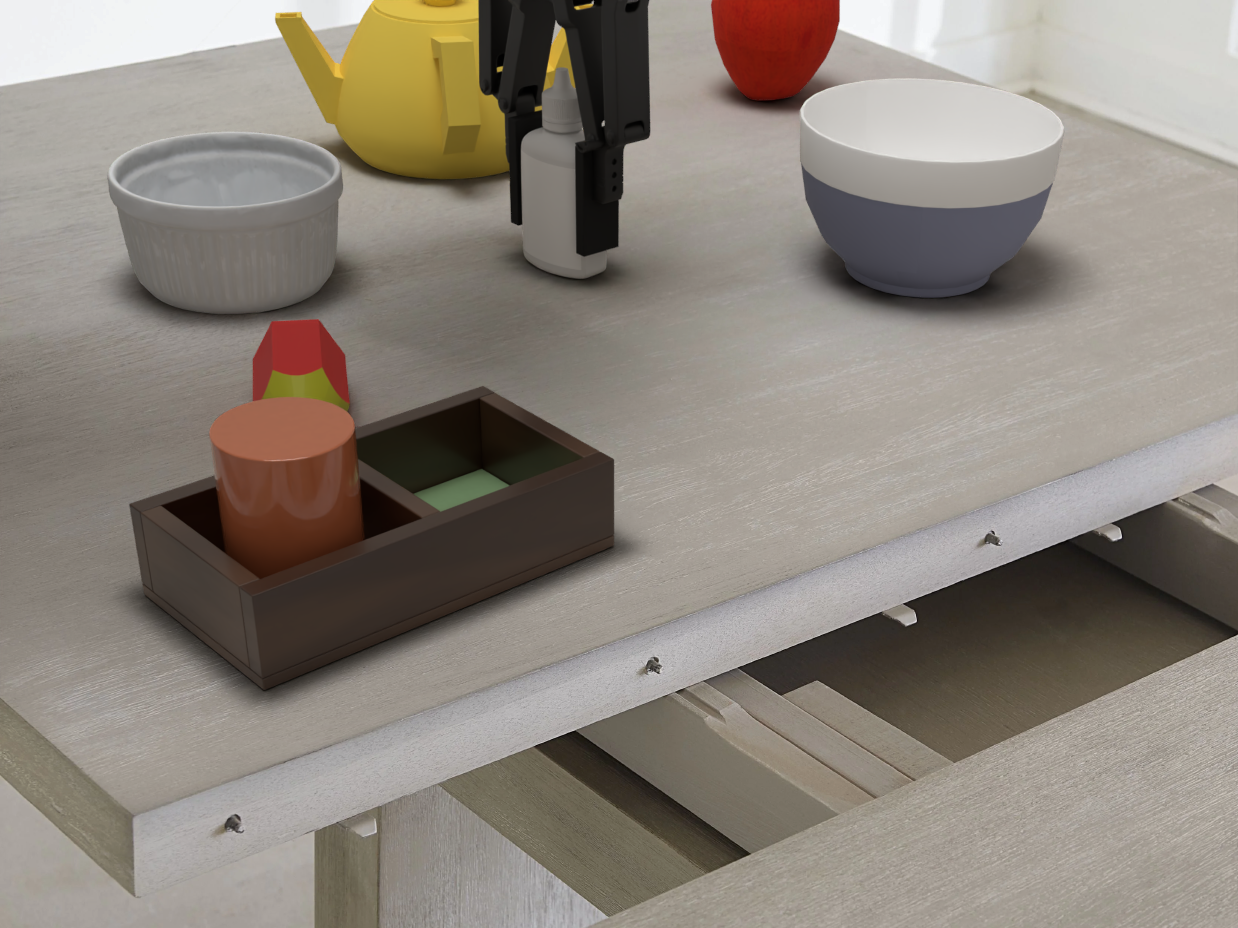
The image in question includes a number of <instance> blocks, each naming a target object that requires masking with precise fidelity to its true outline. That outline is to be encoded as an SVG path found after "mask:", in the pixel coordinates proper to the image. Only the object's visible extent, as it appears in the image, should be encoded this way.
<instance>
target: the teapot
mask: <svg viewBox="0 0 1238 928" xmlns="http://www.w3.org/2000/svg"><path fill="white" fill-rule="evenodd" d="M593 4H594V3H592V4H587V5H582V6H577V7H574V8H575V9H576V10H579V9H584V8H589V7H592V6H593ZM274 21H275V25H276V27H277V29H278V31H279V33H280V35H281V36H282V38H283V40H284V42H285V44H286V47H287V48H288V50H289V52H290V55H291V56H292V58H293V60H294V62H295V64H296V66H297V68H298V71H299V72H300V74H301V75H302V78H303V80H304V82H305V83H306V85H307V87H308V89H309V91H310V93H311V95H312V98H313V99H314V102H315V103H316V105H317V107H318V109H319V111H320V113H321V115H322V117H323V119H324V121H325V123H326V124H329V125H334V127H335V129H336V131H337V133H338V135H339V136H340V137H341V139H342V140H343V141H344V143H345V144H346V145H347V146H348V147H349V148H350V149H351V150H352V151H353V152H354V153H355V154H356V155H357V156H358V157H359V158H360V159H361V160H362V161H363V162H364V163H366V164H367V165H369V166H370V167H373V168H375V169H377V170H380V171H382V172H386V173H389V174H394V175H397V176H402V177H408V178H417V179H429V180H464V179H474V178H484V177H489V176H495V175H499V174H503V173H507V172H509V163H508V161H507V157H506V146H505V145H506V143H505V138H506V137H505V115H504V113H502V111H501V110H500V108H499V106H498V100H497V99H496V98H495V97H494V96H493V95H488V96H487V95H484V94H483V93H482V91H481V89H480V86H479V12H478V0H373V1H371V3H370V5H369V6H368V7H367V9H366V10H365V12H364V13H363V15H362V17H361V18H360V21H359V23H358V25H357V27H356V28H355V30H354V33H353V34H352V36H351V38H350V41H348V44H347V46H346V48H345V51H344V53H343V56H342V58H341V60H340V63H339V62H335V60H334V59H333V58H332V57H331V55H330V53H329V52H328V51H327V49H326V48H325V47H324V45H323V44H322V42H321V41H320V39H319V38H318V37H317V35H316V34H315V32H314V31H313V30H312V28H311V26H309V24H308V23H307V21H306V20H305V18H304V17H303V13H302V11H288V12H275V16H274ZM560 27H561V26H560ZM560 67H564V68H568V71H569V76H570V81H571V85H572V86H573V87H574V88H575V82H574V77H573V72H572V66H571V61H570V55H569V50H568V44H567V39H566V33H565V30H564V28H563V27H561V28H560V29H559V31H558V33H557V35H556V36H555V38H554V39H553V40H552V45H551V50H550V56H549V61H548V67H547V73H546V78H545V84H544V90H546V89H548V88H550V87H552V86H553V84H554V79H555V73H556V68H560ZM502 69H503V66H502V67H498V68H497V72H500V71H502ZM544 90H543V91H544ZM539 110H542V106H538V107H535V111H539Z"/></svg>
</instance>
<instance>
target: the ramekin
mask: <svg viewBox="0 0 1238 928" xmlns="http://www.w3.org/2000/svg"><path fill="white" fill-rule="evenodd" d="M107 186H108V193H109V197H110V200H111V201H112V203H113V205H114V206H115V207H116V211H117V215H118V219H119V224H120V227H121V231H122V235H123V239H124V243H125V247H126V250H127V254H128V256H129V260H130V263H131V265H132V269H133V271H134V273H135V276H136V278H137V279H138V281H139V283H140V284H141V285H142V286H143V287H144V288H145V289H146V290H147V291H148V292H149V293H150V294H151V295H152V296H153V297H155V298H156V299H158V300H159V301H160V302H163V303H164V304H167V305H169V306H172V307H175V308H178V309H181V310H185V311H191V312H195V313H204V314H212V315H213V314H215V315H242V314H254V313H255V314H256V313H264V312H269V311H274V310H278V309H283V308H285V307H289V306H292V305H295V304H298V303H301V302H302V301H305V300H307V299H310V297H312V296H314V295H315V294H317V293H318V292H319V291H320V290H321V289H322V288H323V286H324V285H325V283H326V282H327V281H328V279H329V278H330V277H331V275H332V274H333V271H334V268H335V264H336V260H337V259H336V258H337V248H338V235H339V200H340V198H341V197H342V195H343V190H344V180H343V170H342V165H341V163H340V160H339V159H338V158H337V157H336V155H334V154H333V153H332V152H331V151H329V150H327V149H326V148H324V147H322V146H320V145H318V144H315V143H313V142H309V141H306V140H304V139H300V138H297V137H291V136H286V135H281V134H276V133H275V134H274V133H266V132H256V131H255V132H253V131H211V132H209V131H207V132H199V133H198V132H197V133H189V134H181V135H177V136H171V137H165V138H162V139H157V140H153V141H150V142H146V143H144V144H141V145H137V146H135V147H133V148H131V149H129V150H127V151H125V152H123V153H122V154H120V155H119V156H117V158H115V159H114V160H113V161H112V162H111V164H110V165H109V168H108V170H107Z"/></svg>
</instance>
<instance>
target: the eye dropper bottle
mask: <svg viewBox="0 0 1238 928" xmlns="http://www.w3.org/2000/svg"><path fill="white" fill-rule="evenodd" d="M542 126H543V127H542V128H538V129H535V130H533V131H531V132H529V133H528V134H527V135H525V137H524V138H523V140H522V144H521V187H522V225H521V226H522V229H521V230H522V252H523V256H524V258H525V260H526V261H528V262H529V263H530V264H531V265H533V266H534V267H536V268H538V269H540V270H541V271H544V272H546V273H549V274H553V275H557V276H560V277H564V278H569V279H574V280H575V279H577V280H584V279H588V278H590V277H593V276H596V275H598V274H601V273H603V272H604V271H606V268H607V266H608V265H607V262H608V260H607V259H608V256H607V255H608V250H606V251H603V252H599V253H596V254H592V255H589V256H585V257H583V256H581V255H579V254H577V253H576V187H575V146H576V144H575V143H576V142H580V141H584V140H585V137H584V132H583V126H582V121H581V115H580V110H579V104H578V99H577V93H576V88H574V87H573V86H572V85H571V81H570V76H569V71H568V68H564V67H560V68H556V73H555V79H554V84H553V86H552V87H550V88H548V89H546V90H544V91H543V92H542Z"/></svg>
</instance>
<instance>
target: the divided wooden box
mask: <svg viewBox="0 0 1238 928" xmlns="http://www.w3.org/2000/svg"><path fill="white" fill-rule="evenodd" d="M355 430H356V441H357V453H358V464H359V476H360V488H361V499H362V511H363V522H364V534H365V540H363V541H361V542H358V543H355V544H353V545H350V546H347V547H345V548H342V549H339V550H337V551H334V552H331V553H329V554H326V555H323V556H321V557H318V558H315V559H313V560H310V561H307V562H305V563H302V564H299V565H297V566H294V567H291V568H289V569H286V570H283V571H281V572H278V573H275V574H273V575H270V576H267V577H265V578H262V579H259V578H258V577H257V576H255V575H254V574H253V573H251V572H250V571H249V570H247V569H246V568H245V567H243V566H242V565H241V564H239V563H238V562H236V561H235V560H234V559H232V558H231V557H230V556H228V555H227V554H226V553H225V549H224V542H223V535H222V527H221V520H220V512H219V505H218V498H217V490H216V483H215V475H214V474H213V475H210V476H208V477H205V478H202V479H198V480H196V481H193V482H190V483H187V484H184V485H181V486H178V487H175V488H172V489H169V490H166V491H163V492H160V493H157V494H154V495H151V496H148V497H145V498H142V499H139V500H136V501H133V502H129V504H128V507H129V512H130V519H131V525H132V530H133V536H134V542H135V548H136V549H135V550H136V554H137V560H138V566H139V572H140V578H141V583H142V590H143V595H144V596H146V597H147V598H149V599H150V600H151V601H152V602H153V603H155V604H156V606H158V607H159V608H160V609H162V610H163V611H164V612H166V613H167V614H168V615H170V616H171V617H172V618H173V619H174V620H176V621H177V622H178V623H180V624H181V625H182V626H183V627H184V628H186V629H187V630H188V631H189V632H191V633H192V634H193V635H195V636H196V637H197V638H198V639H199V640H200V641H202V642H203V643H205V644H206V645H207V646H208V647H210V648H211V649H212V650H214V652H216V653H217V654H218V655H220V656H221V657H222V658H223V659H224V660H226V662H228V663H230V664H231V665H232V666H233V667H234V668H236V669H237V670H238V671H239V672H241V673H242V674H243V675H245V676H246V677H247V678H248V679H250V681H252V682H253V683H254V684H256V685H257V686H258V687H259V688H261V689H262V690H263V691H266V690H269V689H271V688H273V687H275V686H278V685H280V684H283V683H285V682H288V681H290V680H293V679H295V678H298V677H300V676H302V675H306V674H307V673H309V672H312V671H314V670H317V669H319V668H321V667H324V666H326V665H329V664H331V663H334V662H335V661H338V660H342V659H343V658H346V657H349V656H351V655H353V654H355V653H358V652H360V651H363V650H365V649H368V648H370V647H372V646H375V645H377V644H380V643H382V642H384V641H387V640H389V639H392V638H394V637H397V636H398V635H401V634H404V633H406V632H408V631H412V630H414V629H416V628H418V627H421V626H424V625H426V624H428V623H430V622H433V621H435V620H438V619H440V618H443V617H445V616H447V615H450V614H453V613H454V612H457V611H459V610H462V609H464V608H466V607H467V608H468V607H469V606H471V605H474V604H477V603H479V602H481V601H483V600H486V599H489V598H491V597H494V596H496V595H498V594H500V593H503V592H506V591H507V590H510V589H512V588H515V587H517V586H518V587H519V586H520V585H523V584H526V583H527V582H529V581H532V580H534V579H537V578H540V577H541V576H544V575H546V574H549V573H551V572H553V571H556V570H559V569H562V568H563V567H566V566H568V565H570V564H573V563H575V562H578V561H580V560H583V559H585V558H588V557H591V556H593V555H595V554H597V553H600V552H602V551H604V550H607V549H610V548H611V547H614V546H615V458H613V457H611V455H610V456H609V455H608V454H606V453H604V452H602V451H600V450H599V449H596V448H595V447H593V446H591V445H590V444H588V443H586V442H584V441H582V440H581V439H579V438H577V437H576V436H573V435H571V434H570V433H568V432H566V431H565V430H563V429H561V428H559V427H558V426H556V425H553V424H552V423H550V422H548V421H547V420H545V419H543V418H541V417H539V416H538V415H537V414H534V413H532V412H531V411H528V410H527V409H525V408H523V407H522V406H520V405H518V404H517V403H515V402H513V401H511V400H509V399H507V398H506V397H504V396H502V395H501V394H499V393H497V392H495V391H493V390H491V389H490V388H488V387H487V386H485V385H481V386H478V387H475V388H472V389H469V390H466V391H463V392H460V393H457V394H454V395H451V396H448V397H445V398H441V399H439V400H436V401H434V402H430V403H427V404H424V405H421V406H418V407H415V408H412V409H409V410H405V411H402V412H400V413H398V414H394V415H391V416H388V417H384V418H382V419H379V420H376V421H373V422H370V423H367V424H363V425H361V426H357V427H355Z"/></svg>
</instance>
